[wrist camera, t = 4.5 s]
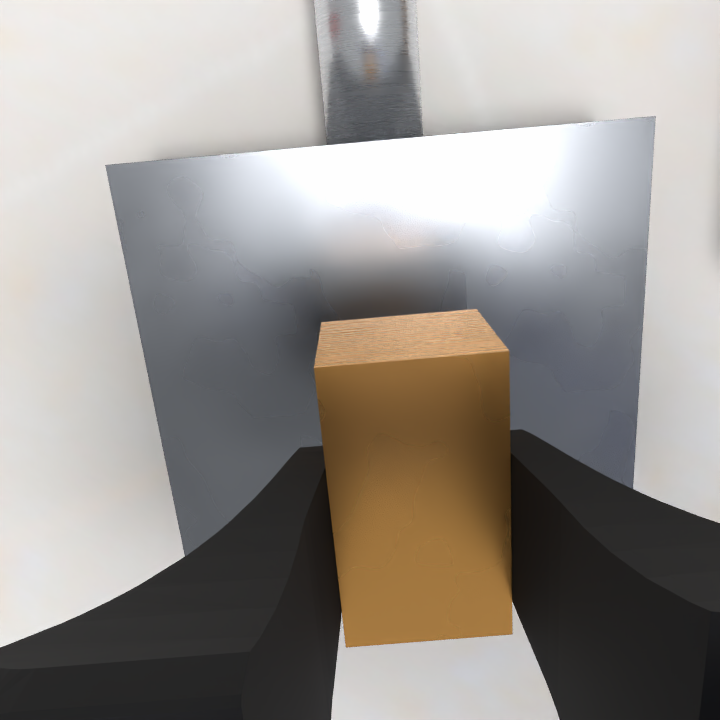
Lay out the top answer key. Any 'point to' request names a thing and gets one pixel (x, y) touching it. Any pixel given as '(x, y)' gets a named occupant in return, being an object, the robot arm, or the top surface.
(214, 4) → the top surface
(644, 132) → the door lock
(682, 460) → the top surface
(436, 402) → the orange wooden block
